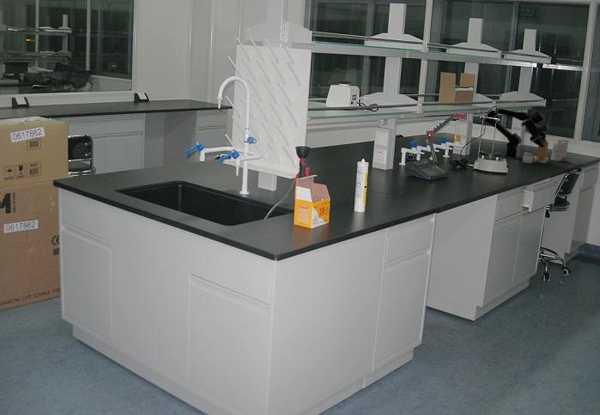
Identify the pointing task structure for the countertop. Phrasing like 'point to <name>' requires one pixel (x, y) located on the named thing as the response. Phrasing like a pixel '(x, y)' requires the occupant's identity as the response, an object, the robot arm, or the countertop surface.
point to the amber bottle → (542, 149)
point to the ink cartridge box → (559, 150)
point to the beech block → (540, 160)
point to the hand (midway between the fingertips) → (545, 146)
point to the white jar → (528, 157)
